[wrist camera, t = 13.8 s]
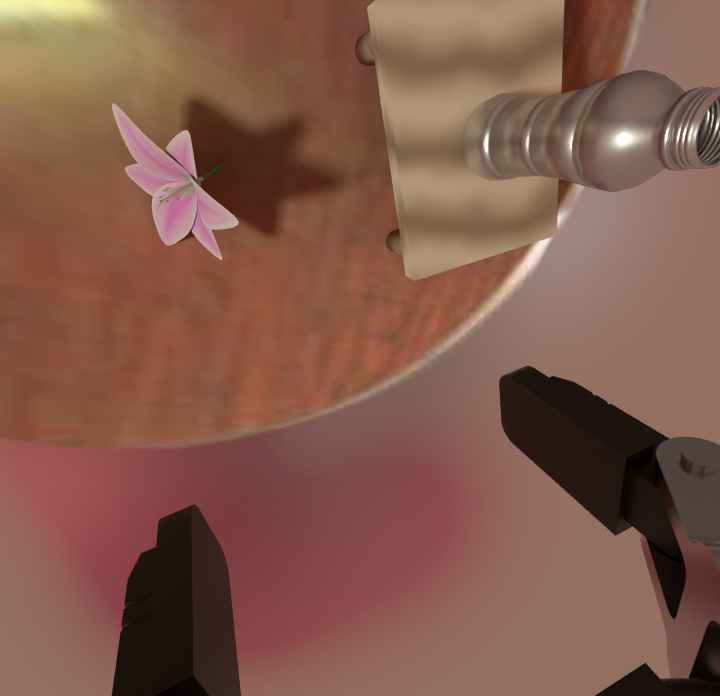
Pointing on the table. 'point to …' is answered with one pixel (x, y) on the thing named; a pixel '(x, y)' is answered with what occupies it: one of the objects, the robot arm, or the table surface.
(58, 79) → the table surface
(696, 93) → the plastic bottle
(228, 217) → the lily
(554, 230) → the footstool
